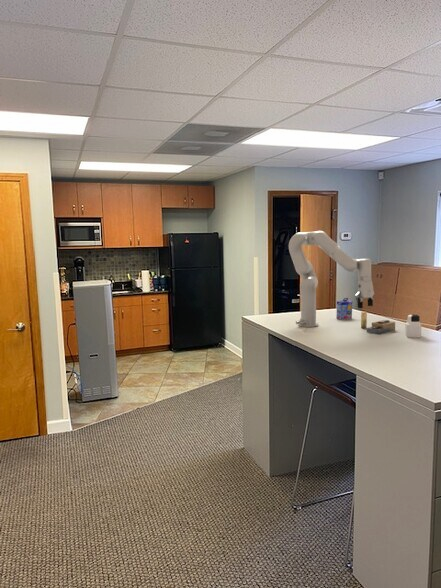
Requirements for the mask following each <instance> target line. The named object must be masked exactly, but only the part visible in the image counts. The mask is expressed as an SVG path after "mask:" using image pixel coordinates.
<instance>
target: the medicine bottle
mask: <svg viewBox="0 0 441 588" xmlns="http://www.w3.org/2000/svg"><path fill="white" fill-rule="evenodd" d="M404 331H405V336H406V337H407V338H419V339H421V338H422V324H421V323H420V315H419V314H409V315H407V321H406V322H405V329H404Z"/></svg>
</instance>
